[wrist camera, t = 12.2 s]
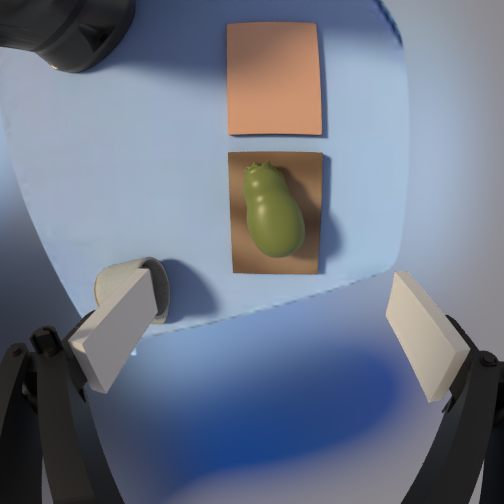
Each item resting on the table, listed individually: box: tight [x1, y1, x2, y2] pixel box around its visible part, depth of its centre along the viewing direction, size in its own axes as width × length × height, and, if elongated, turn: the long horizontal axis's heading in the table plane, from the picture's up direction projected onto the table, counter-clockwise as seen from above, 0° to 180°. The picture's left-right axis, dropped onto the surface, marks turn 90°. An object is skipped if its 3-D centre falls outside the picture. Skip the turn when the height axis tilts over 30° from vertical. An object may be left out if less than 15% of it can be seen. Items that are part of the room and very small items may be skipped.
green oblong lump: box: [243, 161, 305, 258], centre depth 28 cm, size 6×5×10 cm
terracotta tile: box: [227, 22, 322, 135], centre depth 25 cm, size 14×10×1 cm
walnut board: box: [228, 152, 322, 274], centre depth 31 cm, size 14×10×1 cm
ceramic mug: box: [94, 257, 170, 324], centre depth 33 cm, size 11×8×8 cm
